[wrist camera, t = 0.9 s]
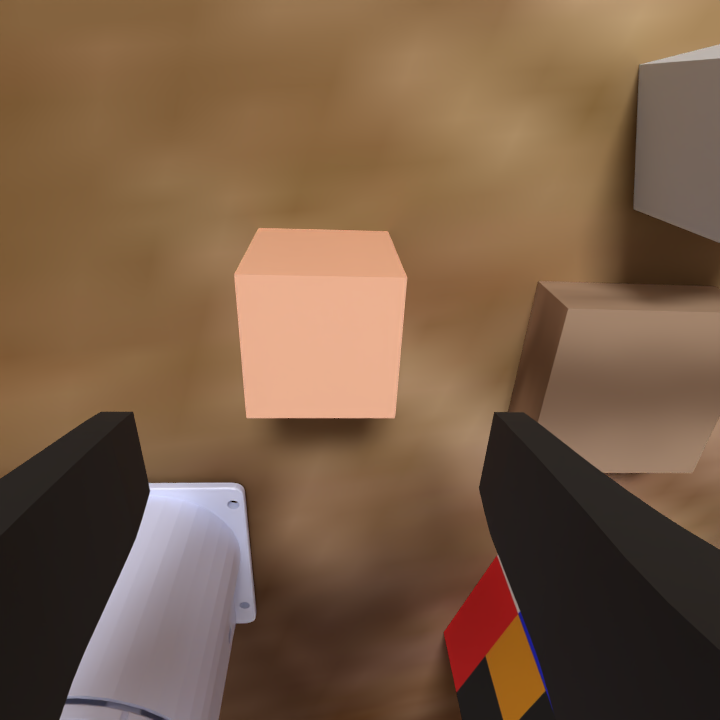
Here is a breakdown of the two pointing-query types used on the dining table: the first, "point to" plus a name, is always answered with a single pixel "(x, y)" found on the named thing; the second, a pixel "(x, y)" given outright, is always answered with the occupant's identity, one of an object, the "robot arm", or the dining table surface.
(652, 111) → the light grey block
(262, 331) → the peach block
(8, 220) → the dining table surface
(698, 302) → the wood slab
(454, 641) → the puzzle toy
